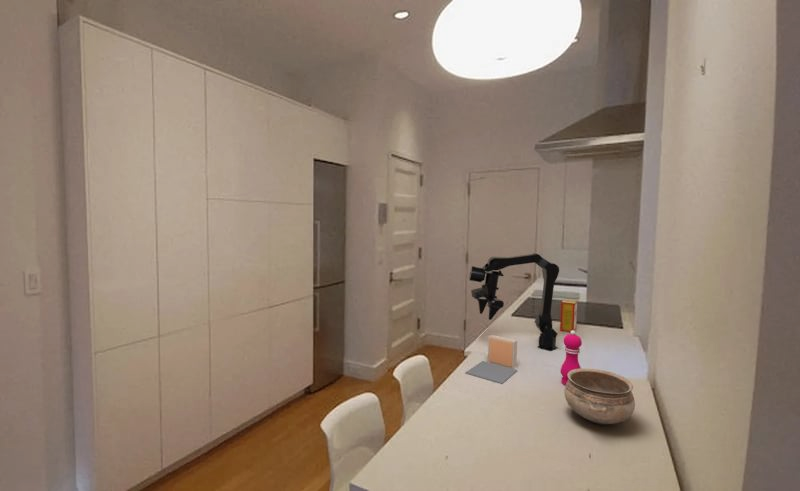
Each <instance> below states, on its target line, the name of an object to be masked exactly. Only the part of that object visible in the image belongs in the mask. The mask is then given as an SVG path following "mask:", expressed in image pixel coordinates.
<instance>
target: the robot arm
mask: <svg viewBox="0 0 800 491" xmlns="http://www.w3.org/2000/svg"><path fill="white" fill-rule="evenodd" d="M533 263H535V264H536V265H537V266H538V267H539V268H541V272H542V279H543V285H542V286H543V287H542V288H543V289H542V293H541V294H542V295H541V305H540V311H539V313H538V314H537V313H535V320H534V324H535V326H536V328H537V329H538V330H539V331H540V334H539V337H538V345H537V348H540V349H543V350H547V351H549V352H551V351H553V350H556V349H557V348H558V346H557V345H556V344H557V336H558V332H557V331H556V330H555V329H554V328H553V319H552V313H551V312H552V305H553V295H554V286H555V283H556V281H557V279H558V276H559V275H560V274H559V273H560V267H559V265H557V264H556V263H554V262H550V261H548V260H547V259H545V258H543V257H542V256H541V255H540V254H538V253H535V252H533V253H529V254H521V255H515V256H508V257H507V256H506V257H505V256H491V257H489V258H488V260H487V263H486V264H484V265H483V266H482V267H479V266H478V267H477V266H475V265H474V266H473V265H471V267H470V270H469V276H468V280H469V281H471V282H478V283H482V282H484V284H482V285H481V287H478V288H473V289H471V292H470V293H471V297H472V298H473V299H475V300H477V303H478V310H479V314H481V315H482V314H483V313H484V311H485V308H487V307H488V321H491V320H492V319H493V318H494V317H495V315H496V314H497V312H498V311H499V310H501V309H502V308H504V306H505V302H504V301H503V300H502V299H499V298H498V296H497V295H496V294H497V291H499V287H498V283H499V282H498V281H499V277H504V273H503V272H502V271H501V270H502V269H503V270H504V269H505V268H508V267H512V266H517V265H527V264H533ZM486 306H487V307H486Z"/></svg>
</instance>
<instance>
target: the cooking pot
mask: <svg viewBox="0 0 800 491" xmlns="http://www.w3.org/2000/svg"><path fill="white" fill-rule="evenodd" d="M568 378H569V379H568V381H567V383H566V386H565V385H564V390H563V391H564V392H563V393H564V398H565V400H566V402H567V405H568V406H569V407H570V408H571V409H572V411H573V412H575V414H577V415H579V416H580V417H582V418H583V419H585V420H587V421H588V422H590V423H592V424H595V425H601V426H605V425H606V426H607V425H613V424H618V423H623V422H625V421H627V420H628V419H629V418H630V417H631V416H632V415H633V413H634V412H635V408H636V402H635V397H634V393H633V392H632V391H633V389H634V386H633V383H632V382H631V381H630V380H629V379H627V378H625V377H624V376H621V375H620V374H617V373H614V372H611V371H607V370H603V369H597V368H589V367H587V368H586V367H585V368H582V367H581V369H574V370H572V371H570V372H569V373H568Z"/></svg>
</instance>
